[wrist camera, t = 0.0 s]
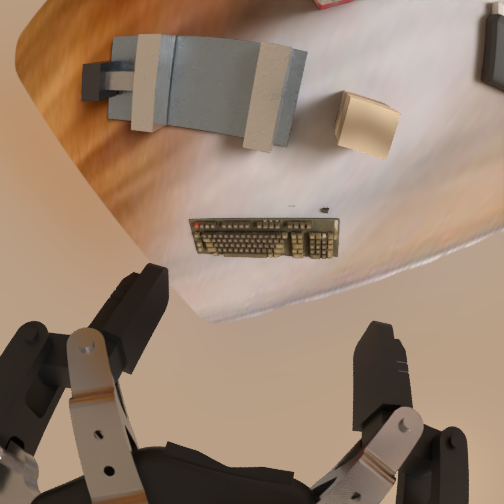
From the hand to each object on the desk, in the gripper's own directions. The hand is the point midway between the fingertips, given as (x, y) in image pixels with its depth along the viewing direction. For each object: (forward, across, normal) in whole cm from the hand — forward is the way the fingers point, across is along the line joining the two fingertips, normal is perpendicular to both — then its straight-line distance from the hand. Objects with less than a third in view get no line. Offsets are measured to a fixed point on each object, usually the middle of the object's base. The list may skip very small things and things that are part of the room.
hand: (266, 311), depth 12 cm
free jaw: (+28, +23, -4) cm, 36 cm away
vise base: (+29, +14, -4) cm, 33 cm away
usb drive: (+30, -22, -21) cm, 43 cm away
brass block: (+29, -6, -4) cm, 30 cm away
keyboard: (+30, +2, +15) cm, 34 cm away
